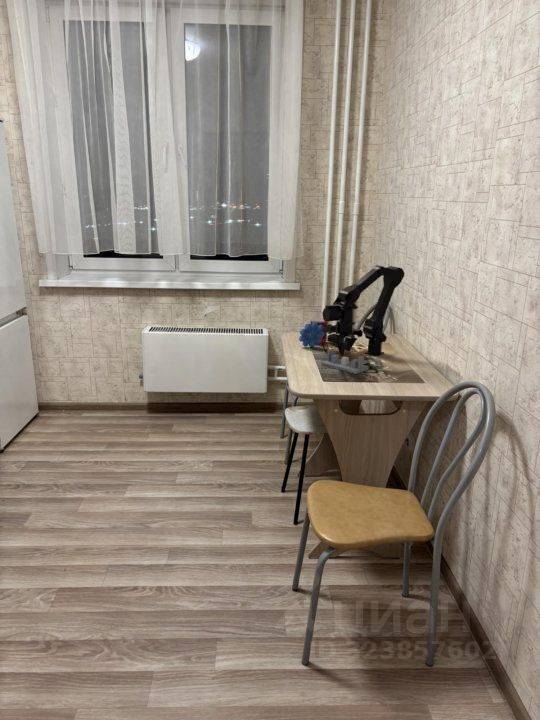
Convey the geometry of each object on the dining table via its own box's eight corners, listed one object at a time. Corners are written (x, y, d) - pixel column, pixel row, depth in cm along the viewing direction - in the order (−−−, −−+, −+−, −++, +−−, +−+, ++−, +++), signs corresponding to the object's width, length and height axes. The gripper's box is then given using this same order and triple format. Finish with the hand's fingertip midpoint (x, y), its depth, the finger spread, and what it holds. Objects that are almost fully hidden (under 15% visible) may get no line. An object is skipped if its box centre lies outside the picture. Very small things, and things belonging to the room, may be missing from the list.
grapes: (324, 345, 250) (325, 320, 246) (323, 349, 243) (324, 323, 240) (299, 344, 251) (300, 319, 248) (298, 348, 245) (299, 322, 241)
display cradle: (334, 360, 227) (334, 346, 225) (368, 369, 216) (369, 354, 214) (321, 364, 220) (321, 351, 218) (356, 374, 209) (357, 359, 208)
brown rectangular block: (329, 355, 234) (329, 349, 233) (334, 354, 236) (334, 347, 236) (354, 362, 225) (354, 355, 225) (359, 360, 228) (359, 353, 227)
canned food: (307, 340, 258) (308, 318, 255) (322, 339, 260) (323, 317, 257) (313, 344, 251) (314, 321, 248) (328, 343, 253) (330, 320, 250)
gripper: (343, 313, 238) (341, 347, 242) (317, 320, 225) (316, 355, 229) (364, 317, 231) (362, 352, 235) (339, 324, 217) (337, 360, 222)
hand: (344, 354), depth 231 cm, fingers closed on brown rectangular block, 4 cm apart
